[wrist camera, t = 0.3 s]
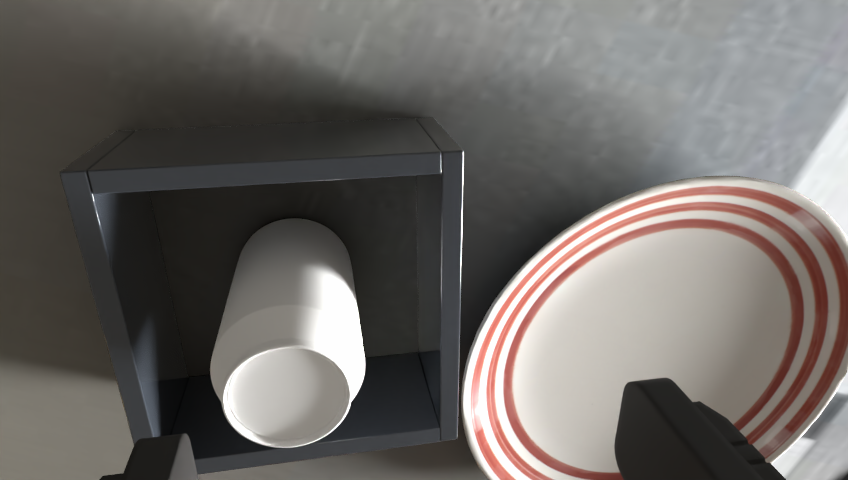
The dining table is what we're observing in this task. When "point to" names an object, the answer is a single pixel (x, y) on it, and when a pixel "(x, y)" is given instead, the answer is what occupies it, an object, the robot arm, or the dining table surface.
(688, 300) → the dinner plate
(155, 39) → the dining table surface
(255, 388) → the beverage can
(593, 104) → the dining table surface
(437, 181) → the grey open box
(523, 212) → the dining table surface
